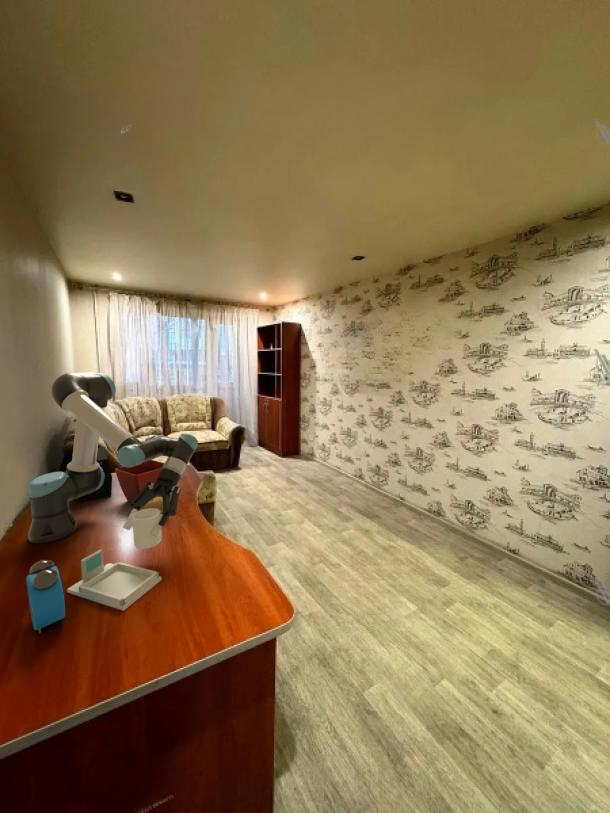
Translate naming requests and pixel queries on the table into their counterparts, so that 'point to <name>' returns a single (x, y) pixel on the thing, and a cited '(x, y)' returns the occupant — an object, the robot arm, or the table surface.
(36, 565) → the alarm clock
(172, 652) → the table surface
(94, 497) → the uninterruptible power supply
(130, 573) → the dock
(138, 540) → the cup
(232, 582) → the table surface
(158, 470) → the plant pot
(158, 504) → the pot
